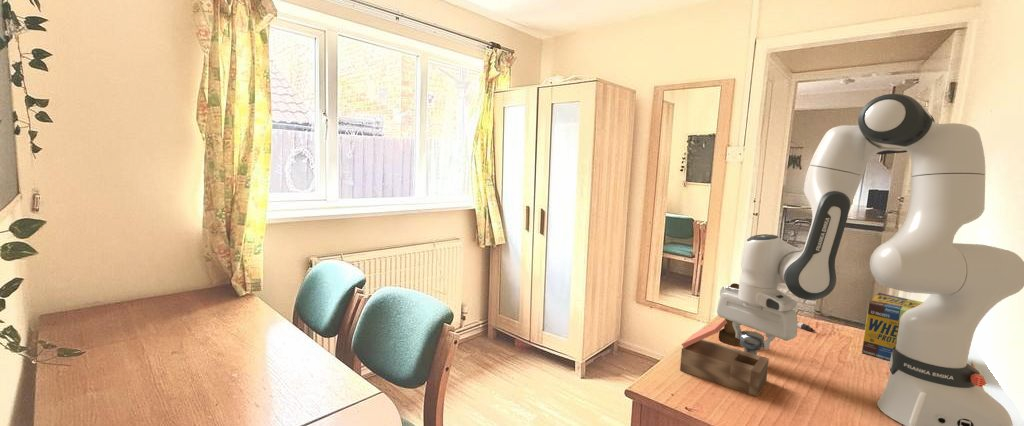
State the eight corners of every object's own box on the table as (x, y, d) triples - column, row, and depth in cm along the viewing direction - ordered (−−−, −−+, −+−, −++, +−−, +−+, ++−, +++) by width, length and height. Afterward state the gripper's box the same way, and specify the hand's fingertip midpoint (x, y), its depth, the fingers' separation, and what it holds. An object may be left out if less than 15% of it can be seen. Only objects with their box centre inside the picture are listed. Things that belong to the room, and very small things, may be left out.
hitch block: (766, 380, 109) (768, 358, 108) (757, 396, 101) (759, 372, 100) (692, 357, 120) (694, 337, 119) (679, 370, 113) (681, 348, 112)
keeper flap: (727, 322, 113) (725, 319, 113) (717, 332, 106) (714, 328, 107) (695, 337, 119) (693, 334, 119) (683, 347, 112) (681, 344, 112)
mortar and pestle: (745, 346, 128) (751, 288, 126) (721, 344, 130) (727, 286, 127) (738, 337, 135) (743, 281, 132) (715, 335, 136) (721, 280, 134)
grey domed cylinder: (763, 362, 118) (766, 334, 117) (758, 370, 114) (761, 341, 113) (740, 356, 122) (743, 329, 121) (735, 363, 118) (738, 335, 117)
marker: (769, 317, 154) (769, 312, 153) (772, 317, 154) (773, 311, 154) (812, 334, 140) (813, 328, 139) (816, 333, 140) (817, 327, 140)
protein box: (861, 353, 126) (868, 302, 124) (871, 339, 136) (878, 292, 134) (909, 367, 118) (917, 313, 116) (916, 351, 128) (924, 301, 126)
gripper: (714, 285, 123) (710, 331, 125) (790, 307, 105) (784, 361, 107) (727, 282, 126) (723, 327, 128) (803, 303, 109) (797, 355, 110)
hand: (751, 343), depth 117 cm, fingers closed on grey domed cylinder, 6 cm apart
